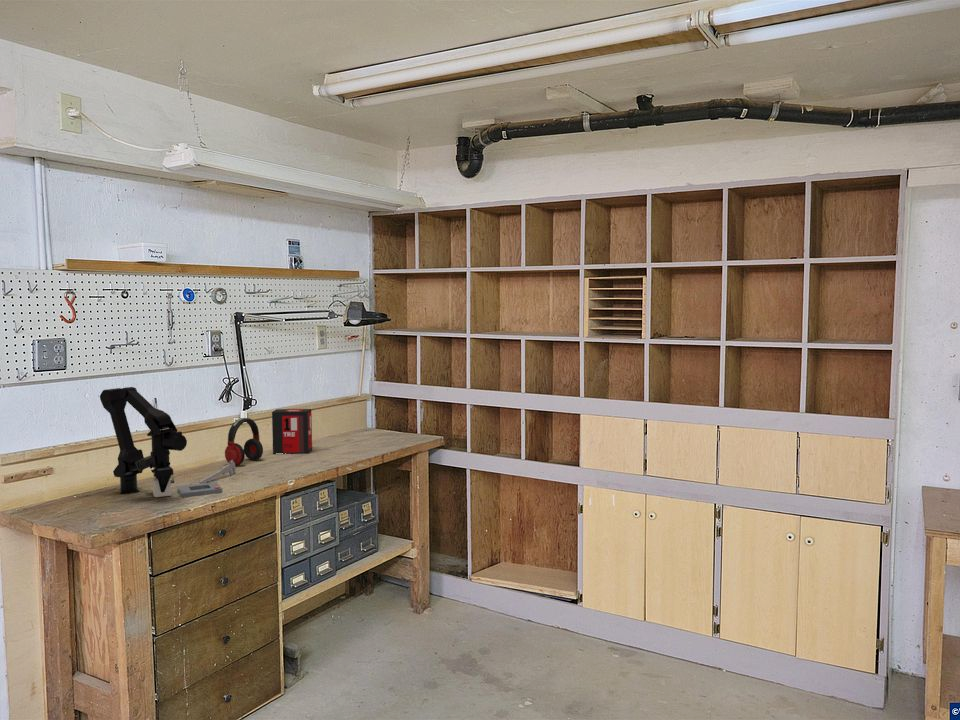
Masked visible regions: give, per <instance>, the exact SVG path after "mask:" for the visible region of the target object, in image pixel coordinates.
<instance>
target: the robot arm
mask: <svg viewBox="0 0 960 720" xmlns="http://www.w3.org/2000/svg"><path fill="white" fill-rule="evenodd" d="M99 398H100V399H99V400H100V401H101V406H102V407H103V409H104V410H106V412H107V413H109V415H110V418H111V421H112V425H113V429H114V433H115V438H116V441H117V443H118V447H119V454H118V457H117V462H118V464H117V466H115V468H114V469H113V476H114V478H119V484H120V487H119V489H118V492H119V494H120V495H121V494H127V493H129V494H131V493H137V492H140V489H139V487H138V474H139V475H140V474H142V473H143V471H144V470H145V469H148V468H149V469H150V471H151V473H152V474H153V478H157V479H158V481H159V486H160V490H161V492H165V489H166V487H167V484H168V482H169V480H170V479H171V477H172V476H174V468H173V466H172V467H171V461H170V455H171V452H170V451H179V452H181V451H183V450H184V449H185V448H186V447H187V444H188V443H187V442H188V439H187V438H186V437H185V435H183V432H182V431H178V429H177V426H176V424H174V422H173V420H172V418H171V416H170V414H169V413H167V412H165V411H164V410H161V409H158V408H156V407H155V406H153V405H152V404H151V402H149V401H148V400H147V399H146V398H145V397H143V395H142V394H141V393H140V392H138V390H137V388H136V387H133V386H127V387H123V388H120V387H117V388H116V387H115V388H108V389H103V390H102V391H101V393H100V395H99ZM127 403H128V404H129V405H131V407H132V408H134V410H136V411H137V412H138V413H139V414H140V415H141V416H142V417H143V419H144V424H145V425H146V426H147V428H148V429H149V430H150V431H149V432H147V434H146V436H147V437H151V451H150V455H148V456H145V457H144V453H143V450H142V448H139V449H138V448H137V447H136V446H135V444H134V439H133V436H132V433H131V429H130V426H129V425H130V424H129V423H128V418H127V415H126V411H125V408H126V406H127Z"/></svg>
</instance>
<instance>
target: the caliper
mask: <svg viewBox="0 0 960 720" xmlns="http://www.w3.org/2000/svg"><path fill="white" fill-rule="evenodd" d="M236 468H237V466H235V462H233V460H231V462H230V461H229V463H228V464H227V465H225V466H223V467H221V468H220V469H219V470H217V471H216V472H214V473H212V474H210V475H208V476H206V477H205V478H203V479H201V480H199V482H198V483H197V484H203V483H209V481H211V480H213V479H215V478H217V477H218V476H221V475H226V474H229V476H233V475H236V474H237V469H236Z"/></svg>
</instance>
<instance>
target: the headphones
mask: <svg viewBox="0 0 960 720" xmlns="http://www.w3.org/2000/svg"><path fill="white" fill-rule="evenodd" d="M244 423H247V424H248V426H249V428H250V429H251V433H252V438H248V439H247V440H246V441H245V442H244V445H243V446H241V444H239V443H236V442H235V439H236V434H237V432H238V429H239V428H240V426H242V425H243V424H244ZM227 434H228V435H227V446H226V448H225V449H224V458H225V460H226V461H227V463H228V464H229V461H230V462H231V460H233V462H235V466H236V467H238V466H240V465H241V464H243V462H244V461H245V457H246V458H247V459H248V460H250V461H258V460H259V459H261V457H262V456H263V453H264V448H263V447H264V446H263V445H262V442H261V441H260V432H259V427H258V425H257V423H256V422H255V421H254V420H253V419H251V418H249V417H240V418H238V419H235V421H234V422H233V423H232V424H231V426H230V427H229V430H228V433H227Z"/></svg>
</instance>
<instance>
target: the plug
mask: <svg viewBox="0 0 960 720" xmlns="http://www.w3.org/2000/svg"><path fill="white" fill-rule="evenodd" d="M171 484H175V479H171V478H170V480H169V482H168V484H167V487H166V489H165V492H161V490H160V486H159V481H158V479H157V478H156V477H153V478H152V494H153V495H152V496H153V497H154V498H160V497H169V496H170V497H171V496H172V488H171V487H172V485H171Z"/></svg>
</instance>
